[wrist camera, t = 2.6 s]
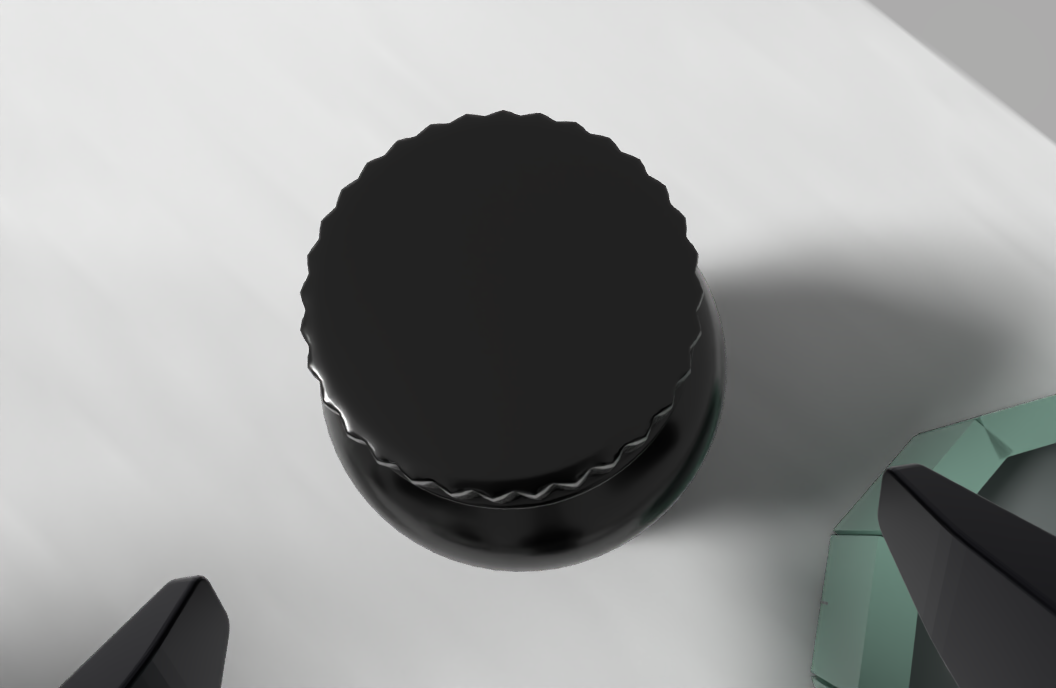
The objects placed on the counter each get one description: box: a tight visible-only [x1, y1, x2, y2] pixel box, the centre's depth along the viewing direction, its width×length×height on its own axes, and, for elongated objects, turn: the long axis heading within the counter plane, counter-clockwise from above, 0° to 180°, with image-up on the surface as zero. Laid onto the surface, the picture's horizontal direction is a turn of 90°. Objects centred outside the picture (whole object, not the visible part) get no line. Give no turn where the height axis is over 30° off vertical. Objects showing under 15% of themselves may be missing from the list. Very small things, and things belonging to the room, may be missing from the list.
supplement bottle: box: [300, 110, 727, 572], centre depth 14 cm, size 7×7×12 cm
